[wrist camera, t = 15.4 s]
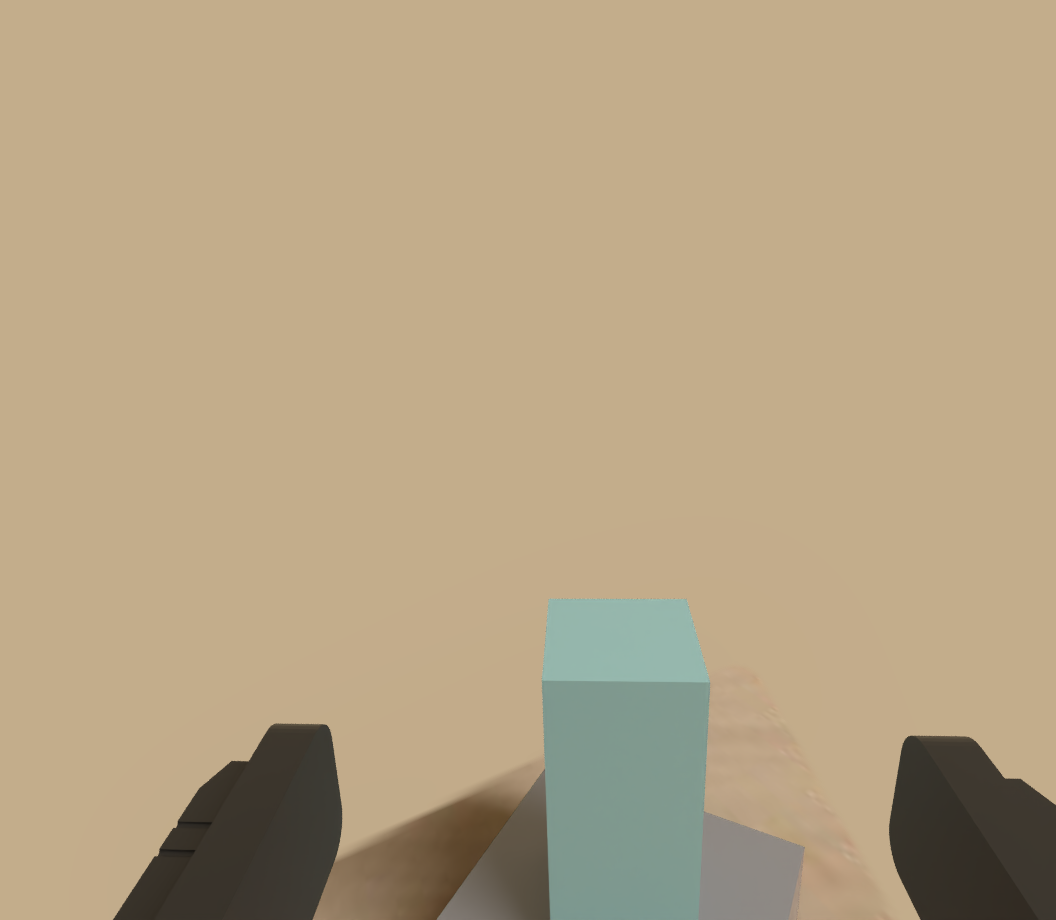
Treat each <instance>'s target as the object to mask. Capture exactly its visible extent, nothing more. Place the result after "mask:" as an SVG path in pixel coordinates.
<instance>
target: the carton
mask: <svg viewBox="0 0 1056 920" xmlns="http://www.w3.org/2000/svg"><path fill="white" fill-rule="evenodd" d="M543 664H544V665H543V675H542V694H543V724H544V753H545V782H546V810H547V839H548V868H549V897H550V920H698V916H699V896H700V876H701V856H702V836H703V816H704V796H705V776H706V756H707V736H708V716H709V695H710V680H709V677H708V673H707V670H706V666H705V663H704V659H703V656H702V652H701V648H700V645H699V642H698V638H697V634H696V631H695V628H694V624H693V620H692V617H691V613H690V610H689V606H688V603H687V600H686V599H549V604H548V615H547V627H546V640H545V651H544V663H543Z"/></svg>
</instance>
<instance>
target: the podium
mask: <svg viewBox="0 0 1056 920" xmlns="http://www.w3.org/2000/svg"><path fill="white" fill-rule="evenodd" d="M804 849H805V847H803V846H800V845H797V844H794V843H792V842H789V841H786V840H783V839H780V838H777V837H774V836H772V835H769V834H766V833H763V832H760V831H757V830H755V829H752V828H749V827H746V826H743V825H740V824H738V823H735V822H732V821H729V820H726V819H723V818H720V817H718V816H715V815H712V814H709V813H706V812H704V816H703V836H702V856H701V876H700V896H699V916H698V920H797V915H798V905H799V896H800V886H801V877H802V868H803V858H804ZM437 920H550V897H549V868H548V839H547V810H546V782H545V769H544V771H543V772H542V774H541V775H540V776H539V778H538V779H537V781H536V782H535V783H534V785H533V786H532V787H531V789H530V790H529V792H528V793H527V794H526V796H525V797H524V799H523V800H522V801H521V803H520V804H519V806H518V807H517V808H516V810H515V811H514V812H513V814H512V815H511V817H510V818H509V819H508V821H507V822H506V824H505V825H504V826H503V828H502V829H501V831H500V832H499V833H498V835H497V836H496V838H495V839H494V840H493V842H492V843H491V844H490V846H489V847H488V849H487V850H486V851H485V853H484V854H483V856H482V857H481V858H480V860H479V861H478V863H477V864H476V865H475V867H474V868H473V869H472V871H471V872H470V874H469V875H468V876H467V878H466V879H465V881H464V882H463V883H462V885H461V886H460V888H459V889H458V890H457V892H456V893H455V895H454V896H453V897H452V899H451V900H450V901H449V903H448V904H447V906H446V907H445V908H444V910H443V911H442V913H441V914H440V915H439V917H438V918H437Z"/></svg>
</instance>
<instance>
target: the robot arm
mask: <svg viewBox="0 0 1056 920" xmlns="http://www.w3.org/2000/svg"><path fill="white" fill-rule="evenodd" d="M341 829H342V805H341V799H340V791H339V784H338V778H337V770H336V763H335V756H334V749H333V742H332V736H331V732H330V729H329V727H328V726H327V725H323V724H274V725H272V726H271V727H270V728H269V729H268V731H267V732H266V734H265V735H264V737H263V739H262V740H261V742H260V744H259V745H258V747H257V749H256V750H255V752H254V754H253V755H252V757H251V759H250V760H249V762H246V761H231V762H230V763H229V764H228V765H227V766H225V767H224V768H223V769H222V770H221V771H219V772H218V773H217V774H216V775H215V776H214V777H212V778H211V779H210V780H209V781H208V782H207V783H205V784H204V785H203V786H202V787H200V788H199V790H198V791H197V793H196V794H195V796H194V797H193V799H192V800H191V802H190V803H189V805H188V806H187V808H186V810H185V811H184V812H183V814H182V816H181V817H180V819H179V820H178V825H177V827H176V828H173V829H172V831H171V832H170V834H169V835H168V837H167V838H166V840H165V841H164V843H163V844H162V846H161V848H160V851H159V855H158V856H157V857H156V856H155V857H154V858H153V860H152V861H151V863H150V864H149V866H148V867H147V869H146V870H145V872H144V873H143V875H142V876H141V878H140V879H139V881H138V883H137V884H136V886H135V887H134V889H133V890H132V892H131V893H130V895H129V896H128V898H127V899H126V901H125V903H124V904H123V905H122V907H121V909H120V910H119V911H118V913H117V915H116V916H115V918H114V919H113V920H312V919H313V917H314V914H315V911H316V909H317V906H318V903H319V901H320V898H321V895H322V893H323V890H324V887H325V885H326V882H327V879H328V877H329V874H330V871H331V869H332V866H333V863H334V860H335V858H336V855H337V851H338V847H339V842H340V837H341ZM889 836H890V845H891V851H892V855H893V860H894V863H895V866H896V869H897V872H898V874H899V876H900V879H901V881H902V883H903V885H904V887H905V889H906V891H907V893H908V895H909V897H910V899H911V901H912V903H913V905H914V907H915V909H916V911H917V913H918V915H919V917H920V919H921V920H1056V805H1055V804H1053V803H1052V802H1051V801H1049V800H1048V799H1047V798H1045V797H1044V796H1043V795H1041V794H1040V793H1039V792H1037V791H1036V790H1035V789H1033V788H1032V787H1031V786H1029V785H1028V784H1027V783H1025V782H1024V781H1023V780H1021V779H1005V778H1004V777H1003V776H1002V774H1001V773H1000V772H999V771H998V769H997V768H996V767H995V765H994V764H993V763H992V761H991V760H990V759H989V758H988V756H987V755H986V754H985V752H984V751H983V750H982V748H981V747H980V746H979V745H978V743H977V742H976V741H974V740H973V739H971V738H969V737H957V736H908V737H907V738H906V739H905V741H904V743H903V746H902V750H901V756H900V762H899V769H898V775H897V781H896V787H895V793H894V799H893V805H892V811H891V817H890V824H889Z"/></svg>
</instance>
